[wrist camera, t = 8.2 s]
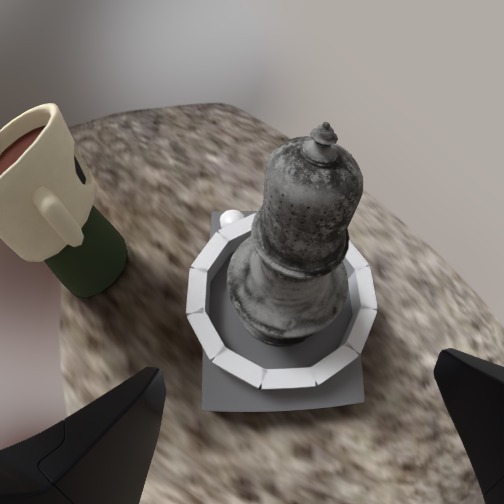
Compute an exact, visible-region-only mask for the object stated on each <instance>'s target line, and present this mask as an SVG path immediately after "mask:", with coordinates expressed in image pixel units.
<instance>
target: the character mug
mask: <svg viewBox="0 0 504 504" xmlns="http://www.w3.org/2000/svg"><path fill="white" fill-rule="evenodd" d="M94 197H95V181H94V178H93V176H92V174H91V173H90V171H89V169H88V167H87V166H86V164H85V162H84V160H83V158H82V156H81V154H80V152H79V151H78V149H77V146H76V144H75V142H74V140H73V138H72V136H71V134H70V132H69V129H68V127H67V125H66V123H65V121H64V119H63V117H62V115H61V113H60V111H59V109H58V107H57V106H56V105H55V104H51V103H49V104H43V105H40V106H38V107H35V108H33V109H30V110H28V111H26V112H25V113H23V114H21V115H20V116H18V117H17V118H15V119H14V120H12V121H11V122H9V123H8V124H7V125H6V126H5V127H3V128H2V129H1V130H0V238H1V239H2V240H3V241H4V242H5V243H6V244H7V245H8V246H9V247H11V249H13V250H14V251H15V252H16V253H17V254H18V255H19V256H20V257H22V258H23V259H25V260H27V261H43V260H44V261H45V263H46V264H47V265H48V267H49V268H50V269H51V270H52V272H53V273H54V274H55V275H56V277H57V278H58V279H59V280H60V281H61V283H62V284H63V285H64V286H65V287H66V288H67V289H68V290H69V291H70V292H71V293H72V294H74V295H77V296H81V297H85V298H86V297H89V296H92V295H96V294H99V293H101V292H102V291H103V290H104V289H106V288H107V287H108V286H109V285H111V284H112V283H113V282H114V281H115V280H116V279H117V277H118V276H119V275H120V273H121V272H122V271H123V269H124V268H125V263H126V257H127V252H128V251H127V248H126V244H125V241H124V238H123V237H122V236H121V235H120V233H119V232H118V231H117V230H116V229H115V228H114V226H113V225H112V224H111V223H110V222H109V221H108V220H107V219H106V218H105V217H104V216H103V215H102V214H101V213H100V212H99V211H98V210H97V209H96V208H95V207H94V206H93V202H94Z"/></svg>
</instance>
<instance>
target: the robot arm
mask: <svg viewBox="0 0 504 504" xmlns="http://www.w3.org/2000/svg"><path fill="white" fill-rule="evenodd" d="M434 377H435V380H436V382H437V385H438V387H439V390H440V392H441V395H442V398H443V400H444V403H445V406H446V408H447V410H448V413H449V415H450V417H451V419H452V421H453V423H454V425H455V427H456V429H457V432H458V434H459V436H460V438H461V441H462V443H463V445H464V447H465V450H466V452H467V455H468V457H469V459H470V462H471V464H472V467H473V469H474V472H475V475H476V477H477V480H478V483H479V485H480V488H481V491H482V494H483V498H484V501H485V504H504V367H502V366H500V365H497V364H494V363H491V362H488V361H486V360H483V359H480V358H477V357H475V356H472V355H469V354H466V353H464V352H461V351H458V350H455V349H453V348H448V349H444V350H442V351H441V352H440V354H439V357H438V359H437V362H436V365H435V368H434ZM165 397H166V387H165V383H164V379H163V374H162V371H161V369H160V368H157V367H146V368H144V369H143V370H141V371H140V372H138V373H137V374H135V375H134V376H132V377H130V378H129V379H127V380H126V381H124V382H123V383H121V384H120V385H118V386H117V387H115V388H113V389H112V390H110V391H109V392H107V393H106V394H104V395H102V396H101V397H99V398H98V399H96V400H94V401H93V402H91V403H90V404H88V405H86V406H85V407H83V408H82V409H80V410H78V411H77V412H75V413H73V414H72V415H70V416H69V417H67V418H65V420H62V421H60V422H58V423H57V424H55V425H53V426H52V427H50V428H48V429H46V430H44V431H42V432H41V433H39V434H37V435H34V436H32V437H30V438H28V439H26V440H24V441H21V442H19V443H16V444H14V445H12V446H9V447H7V448H5V449H2V450H0V504H139V502H140V498H141V495H142V491H143V488H144V484H145V481H146V477H147V474H148V470H149V467H150V464H151V460H152V457H153V454H154V450H155V447H156V444H157V440H158V436H159V431H160V426H161V420H162V414H163V408H164V403H165Z"/></svg>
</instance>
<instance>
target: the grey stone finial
mask: <svg viewBox="0 0 504 504" xmlns="http://www.w3.org/2000/svg"><path fill="white" fill-rule="evenodd" d="M310 135H311V137H308V136H306V137H297V138H293V139H290V140H288V141H286V142H285V143H283V144H282V145H280V146H279V147H277V148H276V149H275V150H274V151H273V153H272V154H271V155H270V158H269V160H268V163H267V166H266V169H265V180H264V200H263V205H262V206H261V207H260V208H259V210H258V211H257V212H256V214H255V215H254V219H253V222H252V225H251V236H250V237H249V238H247V239H246V240H245V241H244V242H243V243H241V244H240V246H239V247H238V248H237V250H236V251H235V253H234V254H233V256H232V258H231V261H230V264H229V267H228V270H227V288H228V292H229V296H230V300H231V302H232V304H233V305H234V307H235V309H236V310H237V312H238V314H239V318H240V320H241V322H242V324H243V325H244V327H245V329H246V330H247V331H248V332H249V333H250V334H251V335H252V336H253V337H254V338H256V339H258V340H260V341H262V342H264V343H265V344H270V345H274V346H291V345H295V344H298V343H301V342H303V341H305V340H306V339H308V338H309V337H311V336H312V335H313V334H314V333H317V332H319V331H320V330H322V329H323V328H325V327H326V326H328V325H329V324H331V322H332V321H333V320H334V319H335V318H336V317H337V315H338V314H339V313H340V312H341V310H342V308H343V305H344V303H345V301H346V298H347V292H348V284H349V283H348V276H347V270H346V267H345V265H344V263H343V260H344V259H345V256H346V254H347V251H348V249H349V234H348V229H347V228H348V225H349V223H350V221H351V219H352V217H353V215H354V213H355V210H356V208H357V206H358V204H359V201H360V199H361V196H362V192H363V176H362V173H361V171H360V168H359V166H358V164H357V163H356V161H355V159H354V158H353V157H352V155H351V154H350V153H349V152H347V151H346V150H345V149H344V148H342V147H341V146H339V145H338V144H336V142H337V140H338V138H337V135H336V134H335V133H334V130H333V129H332V128H331V127H330V124H329V123H328V122H324V123H323V124H322V125H319V126H318V127H317V128H316V129H313V130H312V131H311V133H310Z"/></svg>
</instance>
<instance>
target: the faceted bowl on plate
mask: <svg viewBox="0 0 504 504" xmlns="http://www.w3.org/2000/svg"><path fill="white" fill-rule="evenodd" d="M256 212H257V211H237V210H228V211H219V212H212V218H211V230H210V241H209V242H208V244H207V245H206V246H205V248H204V249H203V250H202V252H201V253H200V254H199V256H198V257H197V258H196V260H195V261H194V262H193V264H192V265H191V267H192V268H190V273H189V284H188V295H187V307H186V314H187V315H188V316H187V318H188V320H189V322H190V324H191V326H192V328H193V329H194V331H195V333H196V335H197V337H198V339H199V341H200V343H201V345H202V346H203V365H202V410H203V411H224V412H270V411H291V410H305V409H316V408H326V407H334V406H342V405H349V404H356V403H362V402H365V400H364V383H363V370H362V359H361V352H362V349H363V347H364V345H365V342H366V340H367V337H368V335H369V332H370V329H371V327H372V324H373V322H374V319H375V316H376V313H377V311H376V309H377V303H376V297H375V291H374V286H373V280H372V275H371V270H370V267H367V266H368V263H367V262H366V260H365V259H364V258H363V257H362V255H361V254H360V253H359V252H358V250H357V249H356V248H355V247H354V245H353V244H352V243H351V242H350V241H349V249H348V251H347V254H346V256H345V259H344V260H343V263H344V265H345V267H346V270H347V276H348V283H349V284H348V292H347V298H346V301H345V303H344V305H343V308H342V310H341V312H340V313H339V314H338V315H337V317H336V318H335V319H334V320H333V321H332V322H331V324H329V325H328V326H326V327H325V328H323V329H322V330H320V331H319V332H317V333H314V334H313V335H312V336H311V337H309V338H308V339H306V340H305V341H303V342H301V343H298V344H295V345H291V346H274V345H270V344H265V343H264V342H262V341H260V340H258V339H256V338H254V337H253V336H252V335H251V334H250V333H249V332H248V331H247V330H246V329H245V327H244V325H243V324H242V322H241V320H240V318H239V314H238V312H237V310H236V309H235V307H234V305H233V304H232V302H231V300H230V296H229V292H228V288H227V270H228V267H229V264H230V261H231V258H232V256H233V254H234V253H235V251H236V250H237V248H238V247H239V246H240V244H241V243H243V242H244V241H245V240H246V239H247V238H249V237H250V236H251V225H252V222H253V219H254V215H255V214H256Z"/></svg>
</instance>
